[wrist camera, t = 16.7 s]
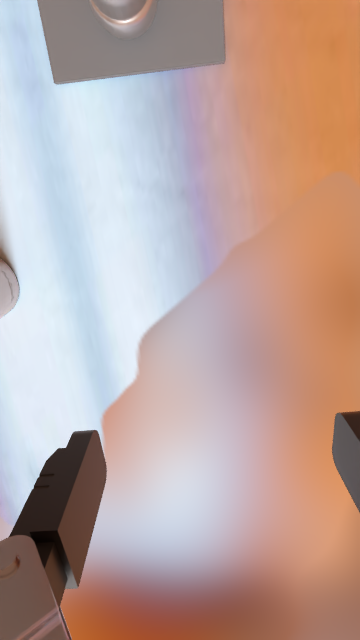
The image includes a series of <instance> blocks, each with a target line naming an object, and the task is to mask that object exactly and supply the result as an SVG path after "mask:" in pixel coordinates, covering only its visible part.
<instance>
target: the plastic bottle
mask: <svg viewBox="0 0 360 640" xmlns="http://www.w3.org/2000/svg"><path fill="white" fill-rule="evenodd" d="M89 3H90V6H91V8H92V11H93V13H94V15H95V17H96V18H97V20H98V22H99V23H100V24H101V25H102V26H103V27H104V28H105V29H106V30H107V31H108V32H110V33H111V34H112V35H114V36H116V37H118V38H121V39H125V40H126V39H134V38H137V37H139V36H141V35H142V34H143V33H144V32H146V31H147V29H148V28H149V27H150V25H151V23H152V21H153V19H154V16H155V13H156V9H157V3H158V0H89Z"/></svg>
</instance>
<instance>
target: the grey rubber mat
mask: <svg viewBox="0 0 360 640" xmlns="http://www.w3.org/2000/svg"><path fill="white" fill-rule="evenodd" d="M37 1H38V6H39V11H40V16H41V21H42V26H43V31H44V36H45V40H46V45H47V50H48V55H49V60H50V65H51V70H52V75H53V79H54V83H55V84H65V83H73V82H81V81H89V80H97V79H105V78H113V77H120V76H128V75H136V74H144V73H152V72H160V71H168V70H176V69H184V68H192V67H200V66H207V65H215V64H223V63H225V44H224V20H223V0H158V3H157V9H156V13H155V16H154V19H153V21H152V23H151V25H150V27H149V28H148V29H147V31H146V32H144V33H143V34H142V35H141V36H139V37H137V38H134V39H126V40H125V39H121V38H118V37H116V36H114V35H112V34H111V33H110V32H108V31H107V30H106V29H105V28H104V27H103V26H102V25H101V24H100V23H99V22H98V20H97V18H96V17H95V15H94V13H93V11H92V8H91V6H90V3H89V0H37Z"/></svg>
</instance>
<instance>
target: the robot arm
mask: <svg viewBox="0 0 360 640" xmlns="http://www.w3.org/2000/svg"><path fill="white" fill-rule="evenodd" d="M18 297H19V286H18V281H17V279H16V276H15V274H14V273H13V271H12V270H11V268H10V267H9V266H8V265H7V264H6V263H5V262H4V261H3V260H1V259H0V318H2V317H3V316H4V315H6V314H7V313H8V312H10V311H11V310H12V309H13V308H14V306H15V305H16V303H17V300H18ZM332 453H333V459H334V463H335V466H336V468H337V470H338V472H339V474H340V476H341V478H342V480H343V482H344V484H345V486H346V487H347V489H348V491H349V493H350V495H351V497H352V499H353V501H354V503H355V505H356V506H357V508H358V510H359V512H360V411H357V412H343V413H337V414H336V416H335V425H334V435H333V446H332ZM106 472H107V471H106V462H105V458H104V454H103V450H102V446H101V442H100V437H99V434H98V432H97V430H88V431H75V432H73V434H72V435H71V438H70V440H69V442H68V445H67V447H66V448H58V449H57V450H56V451H55V452H54V453H53V454H52V455H51V456H50V458H49V459H48V460H47V461H46V462H45V465H44V467H43V469H42V471H41V473H40V477H39V478H38V479H37V481H36V483H35V485H34V489H32V491H31V493H30V495H29V497H28V499H27V501H26V503H25V505H24V507H23V509H22V511H21V514H20V516H19V518H18V520H17V522H16V524H15V526H14V528H13V530H12V532H11V534H10V536H9V537H8V538H6V539H4V540H2V541H1V542H0V640H72V638H71V636H70V633H69V630H68V627H67V624H66V621H65V619H64V616H63V613H62V610H61V607H60V603H61V600H62V597H63V593H64V590H65V589H74V588H78V586H79V583H80V579H81V575H82V571H83V568H84V563H85V559H86V556H87V552H88V548H89V544H90V540H91V537H92V533H93V529H94V525H95V521H96V517H97V514H98V510H99V506H100V502H101V498H102V494H103V490H104V487H105V483H106Z"/></svg>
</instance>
